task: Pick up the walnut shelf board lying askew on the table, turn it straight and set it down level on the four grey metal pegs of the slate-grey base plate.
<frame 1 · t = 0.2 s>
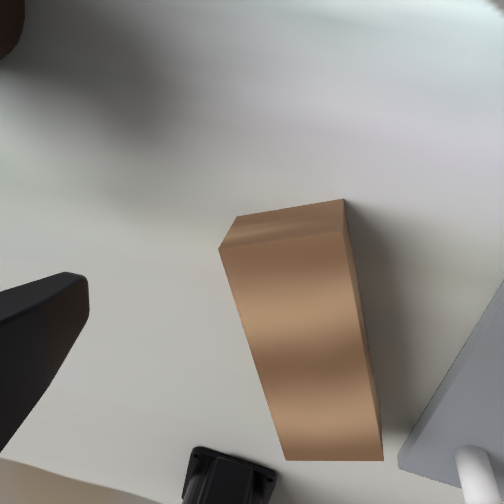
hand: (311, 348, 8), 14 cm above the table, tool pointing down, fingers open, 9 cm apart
shelf board: (314, 317, 25), on the table
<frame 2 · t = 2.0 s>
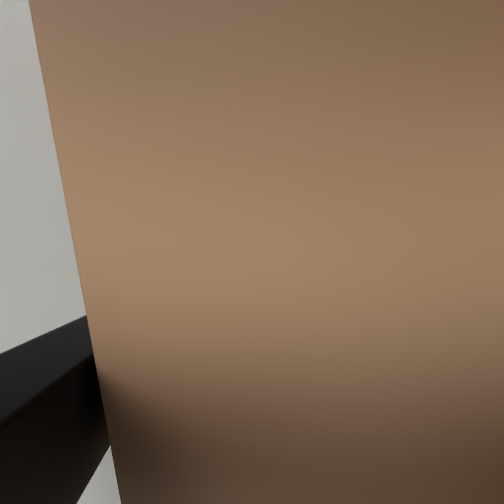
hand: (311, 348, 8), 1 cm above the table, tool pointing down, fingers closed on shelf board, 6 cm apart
shelf board: (315, 303, 9), on the table, touching gripper
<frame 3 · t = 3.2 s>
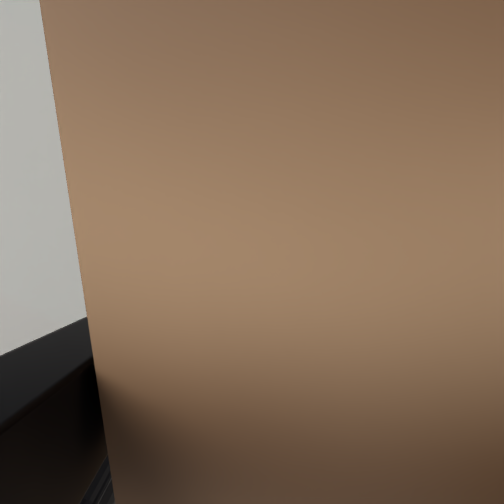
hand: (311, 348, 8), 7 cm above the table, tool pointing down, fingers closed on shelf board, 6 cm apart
shelf board: (315, 306, 9), point 6 cm above the table, touching gripper
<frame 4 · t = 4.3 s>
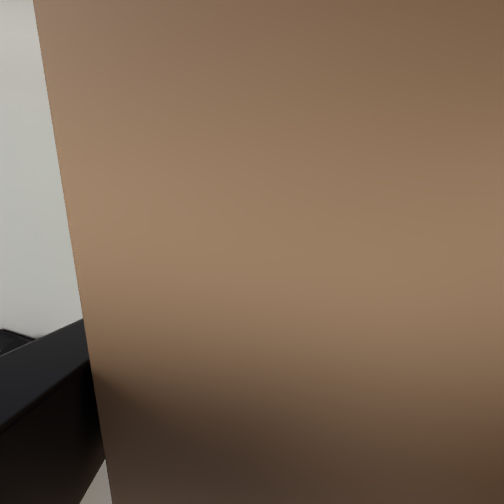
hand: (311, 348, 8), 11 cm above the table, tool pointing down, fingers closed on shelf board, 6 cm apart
shelf board: (314, 304, 9), point 10 cm above the table, touching gripper
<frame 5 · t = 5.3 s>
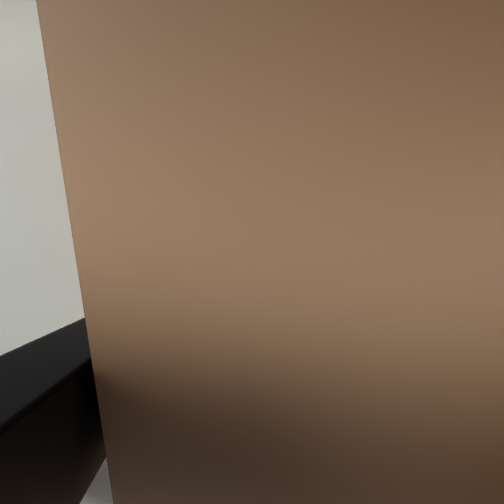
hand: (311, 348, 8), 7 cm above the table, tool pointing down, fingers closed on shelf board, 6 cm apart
shelf board: (315, 305, 9), point 6 cm above the table, touching gripper
when the fingers open (6 cm above the table, at t = 5.9 s): shelf board stays where it is, resting on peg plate.
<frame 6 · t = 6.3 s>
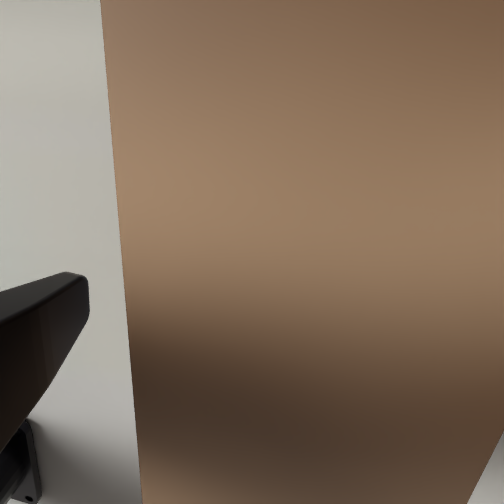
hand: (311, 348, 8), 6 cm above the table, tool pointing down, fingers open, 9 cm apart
shelf board: (317, 281, 10), point 4 cm above the table, touching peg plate
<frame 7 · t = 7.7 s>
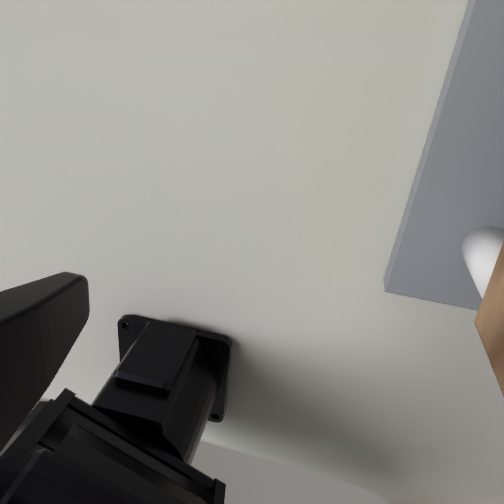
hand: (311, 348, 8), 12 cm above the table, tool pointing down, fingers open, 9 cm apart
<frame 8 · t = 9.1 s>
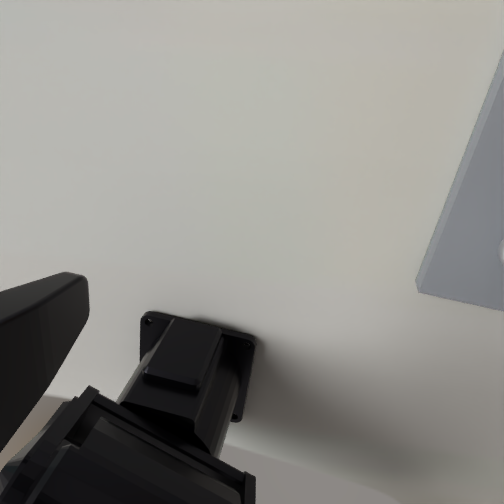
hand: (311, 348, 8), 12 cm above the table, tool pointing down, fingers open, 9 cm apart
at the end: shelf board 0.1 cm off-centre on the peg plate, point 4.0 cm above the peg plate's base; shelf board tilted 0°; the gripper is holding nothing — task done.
